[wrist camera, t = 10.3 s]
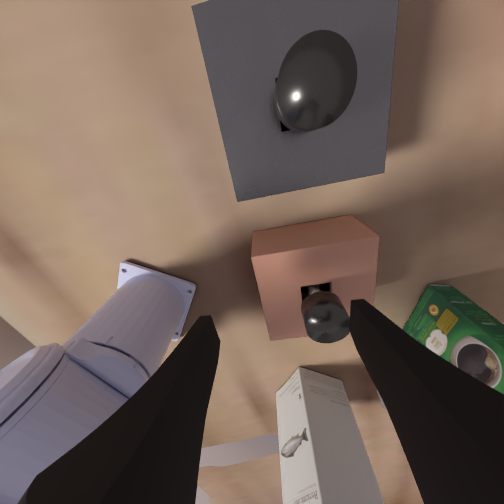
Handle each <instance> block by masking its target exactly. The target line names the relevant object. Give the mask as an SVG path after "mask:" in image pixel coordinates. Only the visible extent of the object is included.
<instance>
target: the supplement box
mask: <svg viewBox="0 0 504 504" xmlns="http://www.w3.org/2000/svg"><path fill="white" fill-rule="evenodd" d="M276 402H277V419H278V435H279V448H280V449H279V450H280V465H281V479H282V495H283V504H385V503H384V500H383V498H382V495H381V492H380V489H379V486H378V483H377V480H376V477H375V475H374V472H373V469H372V466H371V463H370V460H369V457H368V455H367V452H366V449H365V446H364V443H363V440H362V437H361V434H360V431H359V429H358V426H357V423H356V420H355V417H354V414H353V412H352V409H351V406H350V403H349V400H348V397H347V394H346V391H345V389H344V386H343V383H342V381H341V380H339V379H336V378H333V377H330V376H327V375H324V374H321V373H318V372H315V371H312V370H308V369H305V368H302V367H299V368H298V369H297V370H296V372H295V373H294V374H293V375H292V376H291V378H290V379H289V380H288V381H287V382H286V383H285V384H284V385H283V386H282V387H281V388H280V389H279V390H278V391H277V392H276Z"/></svg>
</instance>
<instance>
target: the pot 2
mask: <svg viewBox="0 0 504 504" xmlns="http://www.w3.org/2000/svg"><path fill="white" fill-rule="evenodd" d="M379 239H380V236H379V235H377V234H376V233H375V232H373V231H372V230H371V229H369V228H368V227H367V226H365V225H364V224H363V223H361V222H360V221H358V220H357V219H356V218H354V217H353V216H352V215H346V216H340V217H335V218H329V219H323V220H318V221H312V222H307V223H301V224H295V225H290V226H284V227H279V228H273V229H267V230H262V231H256V232H253V236H252V250H251V259H252V264H253V268H254V272H255V277H256V281H257V285H258V289H259V294H260V298H261V302H262V307H263V311H264V315H265V319H266V324H267V328H268V332H269V337H270V341H272V340H281V339H289V338H298V337H307V336H308V334H307V332H306V328H305V324H304V320H303V316H302V313H301V304H302V302H303V300H304V299H305V298H306V297H307V296H309V293H304V294H301V288H300V287H301V286H308V285H315V284H322V283H329V286H330V290H325V291H329V292H332V293H334V294H336V295H337V296H338V297H339V298H340V300H341V302H342V304H343V306H344V308H345V309H346V311H347V313H348V315H349V317H350V305H351V300H356V299H365V300H366V301H367V302H369V303H370V304H371V305H372V306H373V307H374V297H375V285H376V273H377V262H378V250H379Z"/></svg>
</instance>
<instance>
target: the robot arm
mask: <svg viewBox="0 0 504 504" xmlns="http://www.w3.org/2000/svg"><path fill="white" fill-rule="evenodd" d="M124 269H126V270H124ZM189 290H191V291H189ZM195 290H196V285H195V284H194V283H192V282H189V281H186V280H183V279H179V278H176V277H173V276H170V275H167V274H164V273H161V272H158V271H155V270H152V269H149V268H146V267H143V266H140V265H137V264H134V263H131V262H127V261H123V262H122V263H121V264H120V268H119V277H118V287H117V291H116V292H115V293H114V294H113V295H112V296H111V297H110V298H109V299H108V300H107V301H106V302H105V303H104V304H103V305H102V306H101V307H100V308H99V309H98V310H97V311H96V312H95V313H94V314H93V315H92V316H91V317H90V318H89V319H88V320H87V321H86V322H85V323H84V324H83V325H82V326H81V327H80V328H79V329H78V330H77V331H76V332H75V333H74V334H73V335H72V336H71V337H70V338H69V339H68V340H67V341H66V342H65V343H64V344H63V346H60V345H59V344H57V343H53V344H49V345H45V346H39V347H36V348H34V349H32V350H30V351H28V352H26V353H25V354H24V355H22V356H20V357H19V358H17V359H16V360H14V361H13V362H11V363H10V364H9V365H7V366H6V367H5V368H3V369H2V370H1V371H0V504H195V499H196V490H197V480H198V471H199V462H200V455H201V447H202V439H203V432H204V425H205V419H206V413H207V408H208V404H209V399H210V395H211V391H212V386H213V382H214V378H215V373H216V369H217V364H218V358H219V349H220V339H219V337H218V334H217V331H216V328H215V326H214V323H213V320H212V318H211V315H208V316H200V317H199V318H198V319H197V321H196V322H195V323H194V325H193V326H192V327H191V329H190V330H189V331H188V333H187V334H186V335H185V336H184V338H183V339H182V340H181V342H180V343H179V344H178V345H177V347H176V348H175V349H174V351H173V352H172V353H171V354H170V355H169V357H168V358H167V359H166V360H165V361H164V363H163V364H162V365H161V366H160V364H161V362H162V359H163V357H164V355H165V353H166V351H167V348H168V346H169V344H170V342H171V340H173V341H178V340H179V338H180V335H181V332H182V329H183V326H184V323H185V320H186V317H187V314H188V311H189V308H190V305H191V302H192V299H193V296H194V293H195ZM349 330H350V333H351V335H352V338H353V341H354V344H355V346H356V349H357V351H358V353H359V355H360V357H361V359H362V361H363V363H364V365H365V367H366V369H367V371H368V373H369V375H370V377H371V379H372V381H373V382H374V384H375V386H376V388H377V390H378V392H379V394H380V396H381V398H382V400H383V402H384V404H385V407H386V409H387V411H388V413H389V416H390V418H391V420H392V423H393V425H394V428H395V430H396V432H397V435H398V437H399V440H400V442H401V445H402V447H403V450H404V452H405V455H406V457H407V460H408V462H409V465H410V468H411V470H412V473H413V475H414V478H415V481H416V483H417V486H418V489H419V491H420V494H421V497H422V499H423V502H424V504H504V394H502V393H501V392H499V391H497V390H495V389H493V388H492V387H490V386H488V385H486V384H485V383H483V382H481V381H479V380H478V379H476V378H474V377H472V376H471V375H469V374H467V373H466V372H464V371H463V370H461V369H459V368H458V367H456V366H455V365H453V364H451V363H450V362H448V361H447V360H445V359H443V358H442V357H440V356H439V355H437V354H436V353H434V352H433V351H431V350H430V349H428V348H427V347H426V346H424V345H423V344H421V343H420V342H418V341H417V340H416V339H414V338H413V337H412V336H410V335H409V334H408V333H406V332H405V331H404V330H402V329H401V328H400V327H398V326H397V325H396V324H395V323H393V322H392V321H391V320H389V319H388V318H387V317H386V316H384V315H383V314H382V313H381V312H380V311H378V310H377V309H376V308H375V307H373V306H372V305H371V304H370V303H369V302H367V301H366V300H365V299H356V300H351V305H350V325H349ZM159 366H160V367H159Z"/></svg>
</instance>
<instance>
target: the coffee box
mask: <svg viewBox="0 0 504 504" xmlns="http://www.w3.org/2000/svg"><path fill="white" fill-rule="evenodd" d="M403 330H404V331H405V332H406V333H408V334H409V335H410V336H412V337H413V338H414V339H416V340H417V341H418V342H420V343H421V344H423V345H424V346H426V347H427V348H428V349H430V350H431V351H433V352H434V353H436V354H437V355H439V356H440V357H442V358H443V359H445V360H447V361H448V362H450V363H451V364H453V365H455V366H456V367H458V368H459V369H461V370H463V371H464V372H466V373H467V374H469V375H471V376H472V377H474V378H476V379H478V380H479V381H481V382H483V383H485V384H486V385H488V386H490V387H492V388H493V389H495V390H497V391H499V392H501V393H502V394H504V325H503V324H502V323H501V322H499V321H498V320H497V319H495V318H494V317H493V316H491V315H490V314H489V313H488V312H486V311H485V310H483V309H482V308H480V307H479V306H478V305H476V304H475V303H474V302H473V301H471V300H470V299H469V298H468V297H466V296H465V295H463V294H462V293H460V292H459V291H458V290H456V289H455V288H454V287H452V286H449V285H436V284H431V285H428V286H427V288H426V290H425V291H424V293H423V294H422V295H421V297H420V298H419V302H418V304H417V306H416V307H415V309H414V311H413V313H412V314H411V316H410V318H409V320H408V322H406V324H405V326H404V329H403Z"/></svg>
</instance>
